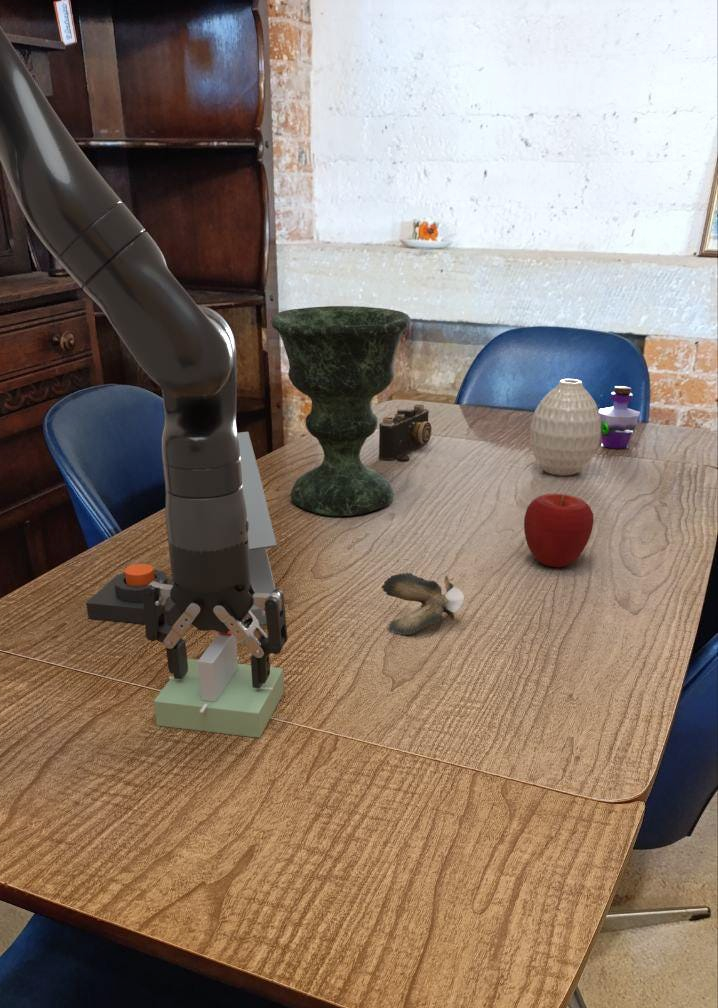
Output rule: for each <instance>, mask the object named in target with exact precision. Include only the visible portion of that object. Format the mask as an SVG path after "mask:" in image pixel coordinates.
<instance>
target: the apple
mask: <svg viewBox="0 0 718 1008" xmlns="http://www.w3.org/2000/svg"><path fill="white" fill-rule="evenodd" d="M594 521H595V520H594V513H593V509H592V507H591V506H590V505H589V504H588V503H587V502H586V500H584V499H582V498H580V497H577V496H575V495H570V494H565V493H546V494H542V495H541V494H540V495H538V496H537V497H536V498H534V499H533V500H531V502H530V503H529V504H528V506H527V507H526V511H525V514H524V520H523V530H524V537H525V540H526V544H527V548H528V549H529V551H530V553H531V554H532V555H533V557H534V558H535V559H536V560H537V561H539V563H541V564H542V565H544V566H547V567H551V568H552V567H553V568H563V567H567V566H569V565H571V564H572V563H574V562H575V561H576V560H577V559H578V558H580V556H581V554H582V553H583V551H584V550H585V548H586V547H587V544H588V543H589V541H590V538H591V534H592V532H593V526H594Z"/></svg>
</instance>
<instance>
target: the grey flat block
mask: <svg viewBox="0 0 718 1008" xmlns="http://www.w3.org/2000/svg"><path fill="white" fill-rule="evenodd" d="M237 642H238V641H237V639H236V637H235V636H234V635H233V634H232V632H231V631H229V632H228V633H220V632H217V635H216V636H215V637H214V638H213V640H211V643H210V644H209V645H208V647H207V648H206V649H205V650H204V652H203V654H202V655H201V656H200V658H198V672H199V683H200V693H201V700H204V701H212V702H216V701H217V700H218V698H219V697H220V695H221V694H222V692H223V691H224V689H225V687H226V686H227V684H228V683H229V681H230V680H231V678H232V677H233V675H234V674H235V672H236V671H237V669H238V664H239V659H238V657H239V656H238V643H237Z"/></svg>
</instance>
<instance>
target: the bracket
mask: <svg viewBox="0 0 718 1008" xmlns="http://www.w3.org/2000/svg"><path fill="white" fill-rule="evenodd" d="M237 434H238V441H239V447H240V458H241V473H242V487H243V494H244V499H245V504H246V511H247V520H248V523H249V530H248V543H249V559H250V582H251V585H252V588H253V589H254V591H255V593H272V591H273V590H275V589H276V585H275V580H274V576H273V572H272V568H271V563H270V558H269V554H268V550H267V549H269V548H276V547H277V546H278V543H277V540H276V536H275V532H274V528H273V524H272V520H271V516H270V512H269V508H268V504H267V500H266V499H267V498H266V495H265V491H264V486H263V482H262V478H261V474H260V470H259V466H258V462H257V458H256V455H255V452H254V448H253V444H252V440H251V437H250V432H249V431H242V432H237ZM250 611H251V612H252V613H253V615H254V616H255V617H256V618H257V620H258V621H259V626H261V625H267V622H266V616H263V615H262V614H261V612H260V609H259V608H258V607H257V606H256V605H253V606H252V608H251V609H250ZM240 623H241V624H242V625H243V626H244V623H243V621H241V622H240Z"/></svg>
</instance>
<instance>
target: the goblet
mask: <svg viewBox="0 0 718 1008" xmlns="http://www.w3.org/2000/svg"><path fill="white" fill-rule="evenodd" d="M411 322H412V321H411V317H410V316H409V314H407V313H406V312H404V311H403V312H402V311H400V310H395V309H390V308H382V307H371V306H359V305H358V306H357V305H328V306H327V305H326V306H312V307H301V308H293V309H288V310H281V311H279V312H276V313H274V315H272V316H271V319H270V323H271V326H272V328H273V329H274V330H275V331H277V332H278V334H279V336H280V338H281V340H282V343H283V348H284V350H285V353H286V356H287V357H286V358H287V360H288V365H289V369H288V373H287V376H288V379H289V381H290V382H291V384H292V386H293V387H294V388H295V389H297V390H298V391H299V392H300V393H302V394H303V395H305V396H307V397H309V399H310V402H311V408H310V409H311V410H310V412H309V414H307V416H306V417H305V426H306V430H307V431H308V433H309V434H310V435H311V436H312V437H313V438H316V440H317V442H318V444H319V445H320V447H321V449H322V452H323V460H322V462H321V464H320V465H319V466H317V467H315V468H313V469H311V470H308V471H306V472H305V473H304V474H301V476H299V477H298V478H297V479H296V481H295V482H294V484H293V486H292V488H291V491H290V495H289V496H290V500H291V501H292V502H293V503H294V504H295V505H296V506H298V507H300V508H301V509H304V510H306V511H309V512H312V513H315V514H318V515H322V516H329V517H351V516H352V517H353V516H359V515H365V514H367V513H371V512H373V511H377V510H380V509H381V508H384V507H387V505H389V504H390V503H392V501H393V500H394V498H395V494H394V490H393V487H392V485H391V483H390V482H389V481H388V479H387V478H386V477H385V476H384V475H382V474H381V473H380V472H378V471H377V470H374V469H371V468H370V467H367V466H365V464H364V463H363V462H362V460H361V450H362V448H363V446H364V445H365V442H366V440H367V439H368V438H370V437H371V436H372V435H373V434H374V433H375V431H376V430H377V428H378V425H379V424H378V423H379V420H378V417H377V415H376V414H375V413H374V411H373V408H372V401H373V399H374V397H376V396H378V395H379V394H380V393H383V392H384V391H385V390H386V389H387V388H388V387H389V386H390V385H391V384H392V382H393V381H394V376H395V371H394V361H395V357H396V354H397V351H398V347H399V344H400V340H401V338H402V335H403V334H404V332H405V331H406V330H407V329H408V328H409V327H410V325H411Z"/></svg>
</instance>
